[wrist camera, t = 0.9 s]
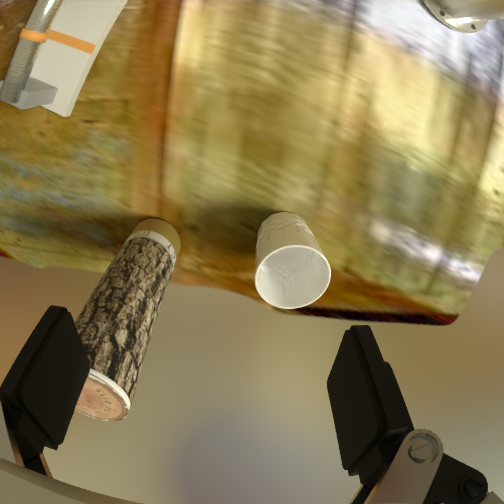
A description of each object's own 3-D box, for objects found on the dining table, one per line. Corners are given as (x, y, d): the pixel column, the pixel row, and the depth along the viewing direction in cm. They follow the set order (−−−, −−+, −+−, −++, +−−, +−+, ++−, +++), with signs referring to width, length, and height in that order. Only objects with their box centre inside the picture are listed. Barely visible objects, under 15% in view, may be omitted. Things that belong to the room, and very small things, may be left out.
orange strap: (40, 26, 24) (0, 21, 17) (95, 45, 27) (59, 39, 19) (36, 34, 24) (-4, 31, 17) (91, 54, 27) (54, 50, 20)
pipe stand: (102, -63, 19) (75, -84, 12) (163, -50, 22) (145, -76, 15) (19, 92, 29) (-18, 99, 22) (70, 115, 32) (34, 125, 25)
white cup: (248, 257, 42) (248, 304, 34) (258, 202, 39) (262, 239, 30) (304, 265, 43) (318, 312, 34) (320, 212, 39) (340, 251, 31)
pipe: (94, -68, 15) (83, -77, 12) (115, -65, 16) (104, -75, 13) (9, 93, 24) (-7, 97, 21) (25, 101, 25) (9, 104, 22)
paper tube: (129, 253, 42) (53, 402, 20) (138, 209, 39) (41, 354, 17) (175, 267, 43) (127, 429, 21) (187, 225, 40) (132, 388, 18)
